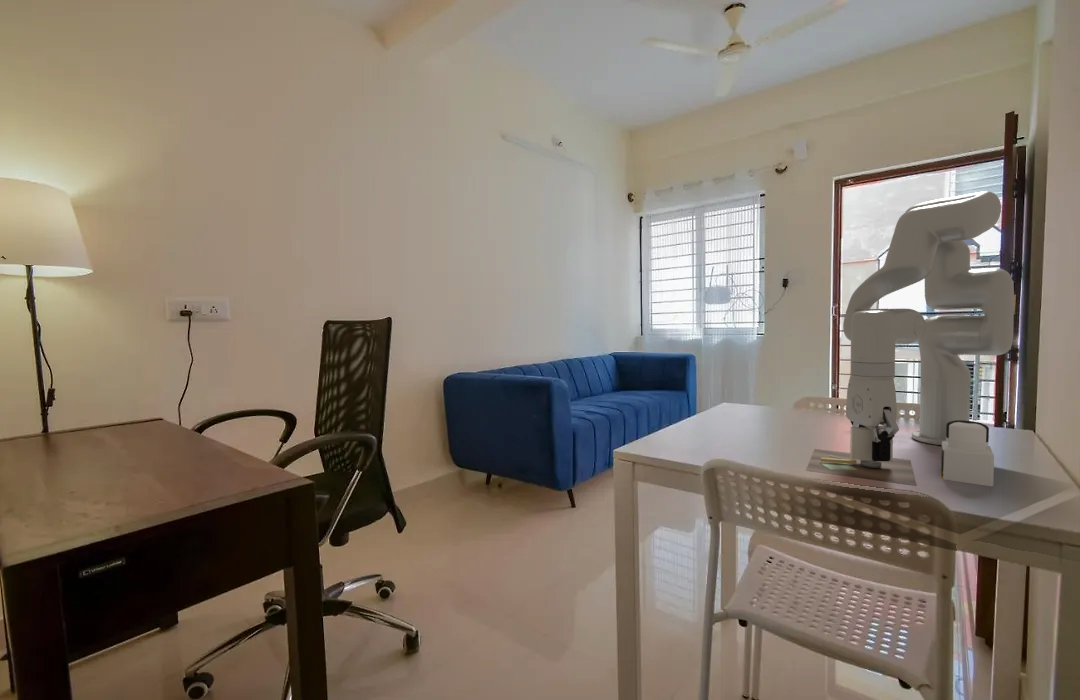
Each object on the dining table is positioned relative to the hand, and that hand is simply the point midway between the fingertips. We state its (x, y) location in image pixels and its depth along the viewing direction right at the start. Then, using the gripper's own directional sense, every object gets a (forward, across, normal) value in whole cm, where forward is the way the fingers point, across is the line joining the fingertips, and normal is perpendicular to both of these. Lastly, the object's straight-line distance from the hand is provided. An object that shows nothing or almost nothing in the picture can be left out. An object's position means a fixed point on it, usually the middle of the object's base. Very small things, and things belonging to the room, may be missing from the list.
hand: (870, 455), depth 99 cm
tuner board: (+4, -1, -2) cm, 4 cm away
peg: (+2, -1, -3) cm, 4 cm away
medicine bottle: (+4, +7, +14) cm, 16 cm away
